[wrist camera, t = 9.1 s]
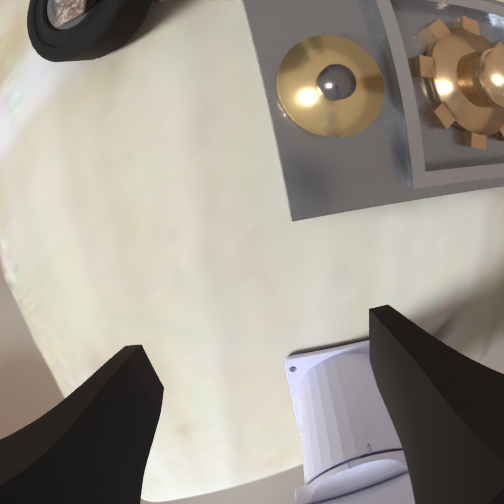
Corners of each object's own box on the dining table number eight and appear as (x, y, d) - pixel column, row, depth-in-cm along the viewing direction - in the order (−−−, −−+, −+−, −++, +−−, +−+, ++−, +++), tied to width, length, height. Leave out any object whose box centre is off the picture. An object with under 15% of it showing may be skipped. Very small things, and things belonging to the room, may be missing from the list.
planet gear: (511, 155, 14) (558, 167, 10) (413, 138, 14) (459, 145, 10) (505, 40, 11) (549, 32, 7) (404, 5, 11) (442, -23, 7)
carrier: (526, 178, 15) (558, 190, 12) (290, 216, 17) (297, 237, 14) (496, 6, 11) (526, -4, 7) (240, -5, 13) (236, -33, 9)
